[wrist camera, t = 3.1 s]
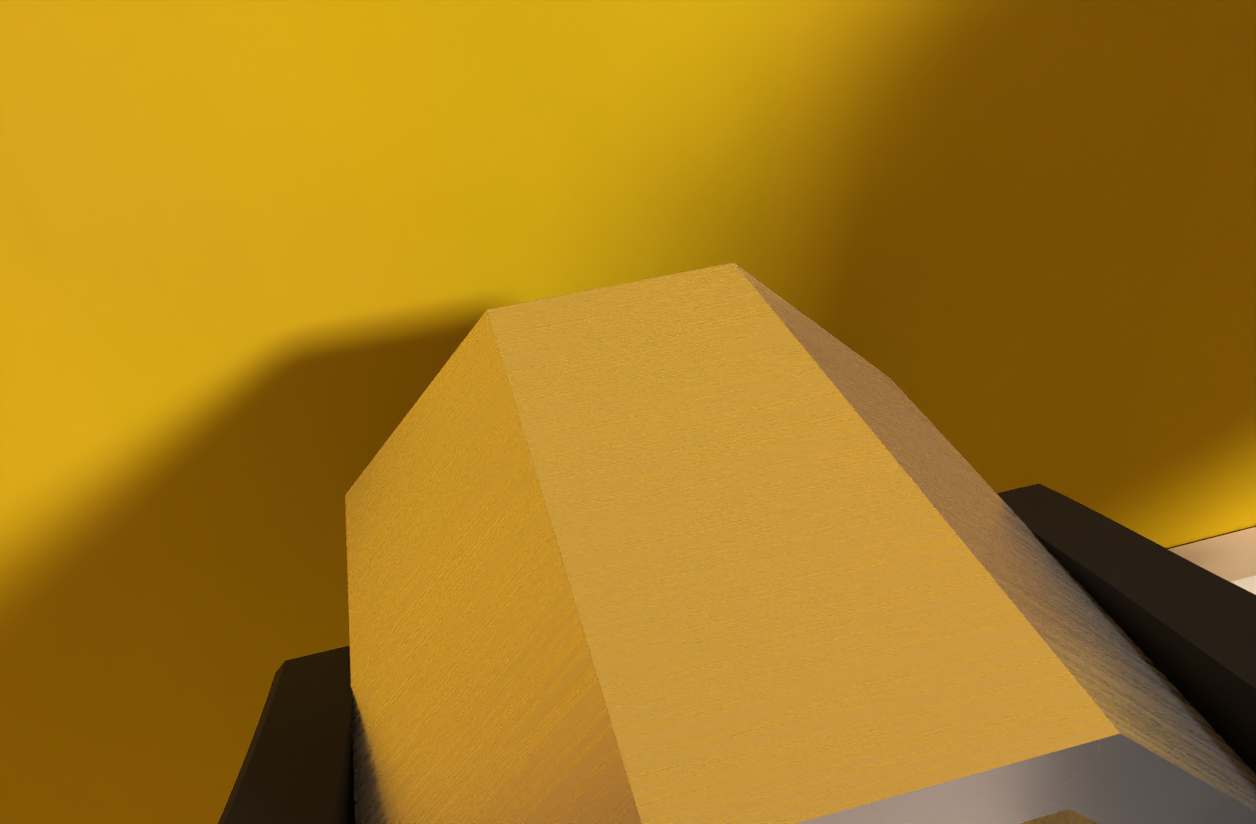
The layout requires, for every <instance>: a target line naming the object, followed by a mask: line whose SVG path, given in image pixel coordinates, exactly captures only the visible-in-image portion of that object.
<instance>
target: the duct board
mask: <svg viewBox="0 0 1256 824" xmlns="http://www.w3.org/2000/svg"><path fill="white" fill-rule="evenodd" d="M1168 550H1170V551H1172V552H1174V553H1175V554H1177V555H1179V556H1181V557H1183V558H1185V559H1187V560H1189V561H1191V562H1193V563H1195V564H1197V565H1198V566H1200V567H1202V568H1204V569H1206V570H1208V571H1210V572H1212V573H1214V574H1216V575H1218V576H1220V577H1222V578H1224V579H1226V580H1227V581H1229V582H1231V583H1233V584H1235V585H1237V586H1239V587H1241V588H1243V589H1245V590H1247V591H1249V592H1251V593H1253V594H1255V595H1256V527H1253V528H1249V529H1245V530H1241V531H1238V532H1234V533H1230V534H1226V535H1222V536H1218V537H1214V538H1210V539H1206V540H1202V541H1198V542H1194V543H1190V544H1186V545H1183V546H1179V547H1175V548H1171V549H1168Z"/></svg>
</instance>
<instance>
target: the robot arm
mask: <svg viewBox="0 0 1256 824" xmlns="http://www.w3.org/2000/svg"><path fill="white" fill-rule="evenodd" d="M997 494H998V495H999V496H1000V498H1001V499H1002V500H1003V501H1004V502H1005V503H1006V504H1007V505H1008V506H1009V507H1010V508H1011V510H1012V511H1013V512H1014V513H1015V514H1016V515H1017V516H1018V517H1019V518H1020V519H1021V520H1022V521H1023V523H1024V524H1025V525H1026V526H1027V527H1028V528H1029V530H1030V531H1031V532H1032V533H1033V534H1034V535H1035V536H1036V537H1037V538H1038V539H1039V540H1040V541H1041V543H1042V544H1043V545H1044V546H1045V547H1046V548H1047V549H1048V550H1049V551H1050V552H1051V553H1052V554H1053V555H1054V556H1055V557H1056V558H1057V559H1058V561H1059V562H1060V563H1061V564H1062V565H1063V566H1064V567H1065V568H1066V569H1067V570H1068V571H1069V572H1070V574H1071V575H1072V576H1073V577H1074V578H1075V579H1076V580H1077V581H1078V582H1079V583H1080V584H1081V585H1082V587H1083V588H1084V589H1085V590H1086V591H1087V592H1088V593H1089V594H1090V595H1091V596H1092V597H1093V599H1094V600H1095V601H1096V602H1097V603H1098V604H1099V605H1100V606H1101V607H1102V608H1103V609H1104V610H1105V612H1106V613H1107V614H1108V615H1109V616H1110V617H1111V618H1112V619H1113V620H1114V621H1115V622H1116V623H1117V625H1118V626H1119V627H1120V628H1121V629H1122V630H1123V631H1124V632H1125V633H1126V634H1127V635H1128V636H1129V638H1130V639H1131V640H1132V641H1133V642H1134V643H1135V644H1136V645H1137V646H1138V647H1139V648H1140V650H1141V651H1142V652H1143V653H1144V654H1145V655H1146V656H1147V657H1148V658H1149V659H1150V660H1151V661H1152V663H1153V664H1154V665H1155V666H1156V667H1157V668H1158V669H1159V670H1160V671H1161V672H1162V673H1163V674H1164V676H1165V677H1166V678H1167V679H1168V680H1169V681H1170V682H1171V683H1172V684H1173V685H1174V686H1175V688H1176V689H1177V690H1178V691H1179V692H1180V693H1181V694H1182V695H1183V696H1184V697H1185V698H1186V699H1187V701H1188V702H1189V703H1190V704H1191V705H1192V706H1193V707H1194V708H1195V709H1196V710H1197V711H1198V712H1199V714H1200V715H1201V716H1202V717H1203V718H1204V719H1205V720H1206V721H1207V722H1208V723H1209V724H1210V725H1211V727H1212V728H1213V729H1214V730H1215V731H1216V732H1217V733H1218V734H1219V735H1220V736H1221V737H1222V739H1223V740H1224V741H1225V742H1226V743H1227V744H1228V745H1229V746H1230V747H1231V748H1232V749H1233V750H1234V752H1235V753H1236V754H1237V755H1238V756H1239V757H1240V758H1241V759H1242V760H1243V761H1244V762H1245V763H1246V765H1247V766H1248V767H1249V768H1250V769H1251V770H1252V771H1253V772H1254V773H1255V774H1256V595H1255V594H1253V593H1251V592H1249V591H1247V590H1245V589H1243V588H1241V587H1239V586H1237V585H1235V584H1233V583H1231V582H1229V581H1227V580H1226V579H1224V578H1222V577H1220V576H1218V575H1216V574H1214V573H1212V572H1210V571H1208V570H1206V569H1204V568H1202V567H1200V566H1198V565H1197V564H1195V563H1193V562H1191V561H1189V560H1187V559H1185V558H1183V557H1181V556H1179V555H1177V554H1175V553H1174V552H1172V551H1170V550H1168V549H1166V548H1164V547H1162V546H1160V545H1158V544H1156V543H1155V542H1153V541H1151V540H1149V539H1147V538H1145V537H1143V536H1141V535H1139V534H1137V533H1136V532H1134V531H1132V530H1130V529H1128V528H1126V527H1124V526H1122V525H1120V524H1118V523H1117V522H1115V521H1113V520H1111V519H1109V518H1107V517H1105V516H1103V515H1101V514H1099V513H1097V512H1095V511H1094V510H1092V509H1090V508H1088V507H1086V506H1084V505H1082V504H1080V503H1078V502H1076V501H1074V500H1072V499H1070V498H1068V497H1066V496H1064V495H1062V494H1060V493H1058V492H1055V491H1053V490H1051V489H1049V488H1047V487H1045V486H1043V485H1041V484H1035V485H1031V486H1027V487H1023V488H1018V489H1014V490H1010V491H1006V492H1001V493H997ZM352 724H353V699H352V688H351V670H350V646H347V647H342V648H338V649H334V650H330V651H325V652H321V653H317V654H313V655H308V656H304V657H300V658H296V659H291V660H287V661H285V662H284V663H283V665H282V666H281V667H280V668H279V670H278V671H277V672H276V674H275V676H274V680H273V683H272V686H271V689H270V692H269V695H268V698H267V701H266V703H265V706H264V709H263V712H262V715H261V717H260V720H259V723H258V726H257V728H256V731H255V734H254V737H253V739H252V742H251V744H250V747H249V750H248V752H247V755H246V757H245V760H244V762H243V765H242V767H241V770H240V772H239V775H238V777H237V780H236V782H235V785H234V787H233V790H232V792H231V794H230V797H229V799H228V802H227V804H226V807H225V809H224V811H223V813H222V816H221V818H220V820H219V822H218V824H355V799H354V767H353V734H352Z"/></svg>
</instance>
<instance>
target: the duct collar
mask: <svg viewBox="0 0 1256 824" xmlns="http://www.w3.org/2000/svg"><path fill="white" fill-rule="evenodd" d="M345 509H346V541H347V574H348V606H349V638H350V670H351V688H352V699H353V724H352V734H353V767H354V799H355V824H1256V774H1255V773H1254V772H1253V771H1252V770H1251V769H1250V768H1249V767H1248V766H1247V765H1246V763H1245V762H1244V761H1243V760H1242V759H1241V758H1240V757H1239V756H1238V755H1237V754H1236V753H1235V752H1234V750H1233V749H1232V748H1231V747H1230V746H1229V745H1228V744H1227V743H1226V742H1225V741H1224V740H1223V739H1222V737H1221V736H1220V735H1219V734H1218V733H1217V732H1216V731H1215V730H1214V729H1213V728H1212V727H1211V725H1210V724H1209V723H1208V722H1207V721H1206V720H1205V719H1204V718H1203V717H1202V716H1201V715H1200V714H1199V712H1198V711H1197V710H1196V709H1195V708H1194V707H1193V706H1192V705H1191V704H1190V703H1189V702H1188V701H1187V699H1186V698H1185V697H1184V696H1183V695H1182V694H1181V693H1180V692H1179V691H1178V690H1177V689H1176V688H1175V686H1174V685H1173V684H1172V683H1171V682H1170V681H1169V680H1168V679H1167V678H1166V677H1165V676H1164V674H1163V673H1162V672H1161V671H1160V670H1159V669H1158V668H1157V667H1156V666H1155V665H1154V664H1153V663H1152V661H1151V660H1150V659H1149V658H1148V657H1147V656H1146V655H1145V654H1144V653H1143V652H1142V651H1141V650H1140V648H1139V647H1138V646H1137V645H1136V644H1135V643H1134V642H1133V641H1132V640H1131V639H1130V638H1129V636H1128V635H1127V634H1126V633H1125V632H1124V631H1123V630H1122V629H1121V628H1120V627H1119V626H1118V625H1117V623H1116V622H1115V621H1114V620H1113V619H1112V618H1111V617H1110V616H1109V615H1108V614H1107V613H1106V612H1105V610H1104V609H1103V608H1102V607H1101V606H1100V605H1099V604H1098V603H1097V602H1096V601H1095V600H1094V599H1093V597H1092V596H1091V595H1090V594H1089V593H1088V592H1087V591H1086V590H1085V589H1084V588H1083V587H1082V585H1081V584H1080V583H1079V582H1078V581H1077V580H1076V579H1075V578H1074V577H1073V576H1072V575H1071V574H1070V572H1069V571H1068V570H1067V569H1066V568H1065V567H1064V566H1063V565H1062V564H1061V563H1060V562H1059V561H1058V559H1057V558H1056V557H1055V556H1054V555H1053V554H1052V553H1051V552H1050V551H1049V550H1048V549H1047V548H1046V547H1045V546H1044V545H1043V544H1042V543H1041V541H1040V540H1039V539H1038V538H1037V537H1036V536H1035V535H1034V534H1033V533H1032V532H1031V531H1030V530H1029V528H1028V527H1027V526H1026V525H1025V524H1024V523H1023V521H1022V520H1021V519H1020V518H1019V517H1018V516H1017V515H1016V514H1015V513H1014V512H1013V511H1012V510H1011V508H1010V507H1009V506H1008V505H1007V504H1006V503H1005V502H1004V501H1003V500H1002V499H1001V498H1000V496H999V495H998V494H997V493H996V492H995V491H994V490H993V489H992V488H991V487H990V486H989V485H988V483H987V482H986V481H985V480H984V479H983V478H982V477H981V476H980V475H979V474H978V473H977V472H976V470H975V469H974V468H973V467H972V466H971V465H970V464H969V463H968V462H967V461H966V460H965V458H964V457H963V456H962V455H961V454H960V453H959V452H958V451H957V450H956V449H955V448H954V447H953V445H952V444H951V443H950V442H949V441H948V440H947V439H946V438H945V437H944V436H943V435H942V434H941V432H940V431H939V430H938V429H937V428H936V427H935V426H934V425H933V424H932V423H931V422H930V421H929V419H928V418H927V417H926V416H925V415H924V414H923V413H922V412H921V411H920V410H919V409H918V407H917V406H916V405H915V404H914V403H913V402H912V401H911V400H910V399H909V398H908V397H907V396H906V394H905V393H904V392H903V391H902V390H901V389H900V388H899V387H898V386H897V385H896V384H895V383H894V381H893V380H892V379H891V378H889V377H888V376H887V375H885V374H884V373H883V372H881V371H880V370H879V369H877V368H876V367H875V366H873V365H872V364H870V363H869V362H868V361H866V360H865V359H864V358H862V357H861V356H860V355H858V354H857V353H856V352H854V351H853V350H852V349H850V348H849V347H847V346H846V345H845V344H843V343H842V342H841V341H839V340H838V339H837V338H835V337H834V336H833V335H831V334H830V333H829V332H827V331H826V330H824V329H823V328H822V327H820V326H819V325H818V324H816V323H815V322H814V321H812V320H811V319H810V318H808V317H807V316H806V315H804V314H803V313H801V312H800V311H799V310H797V309H796V308H795V307H793V306H792V305H791V304H789V303H788V302H787V301H785V300H784V299H783V298H781V297H780V296H778V295H777V294H776V293H774V292H773V291H772V290H770V289H769V288H768V287H766V286H765V285H764V284H762V283H761V282H760V281H758V280H757V279H755V278H754V277H753V276H751V275H750V274H749V273H747V272H746V271H745V270H743V269H742V268H741V267H739V266H738V265H737V264H735V263H734V262H733V263H728V264H723V265H718V266H712V267H707V268H702V269H697V270H692V271H686V272H681V273H676V274H671V275H665V276H660V277H655V278H650V279H644V280H639V281H634V282H629V283H624V284H618V285H613V286H608V287H603V288H597V289H592V290H587V291H582V292H576V293H571V294H566V295H561V296H556V297H550V298H545V299H540V300H535V301H529V302H524V303H519V304H514V305H508V306H503V307H498V308H493V309H487V310H486V311H485V313H484V314H483V315H482V317H481V318H480V319H479V321H478V322H477V323H476V324H475V326H474V327H473V328H472V330H471V331H470V332H469V334H468V335H467V336H466V338H465V339H464V340H463V342H462V343H461V344H460V345H459V347H458V348H457V349H456V351H455V352H454V353H453V355H452V356H451V357H450V359H449V360H448V361H447V362H446V364H445V365H444V366H443V368H442V369H441V370H440V372H439V373H438V374H437V376H436V377H435V378H434V379H433V381H432V382H431V383H430V385H429V386H428V387H427V389H426V390H425V391H424V393H423V394H422V395H421V396H420V398H419V399H418V400H417V402H416V403H415V404H414V406H413V407H412V408H411V410H410V411H409V412H408V413H407V415H406V416H405V417H404V419H403V420H402V421H401V423H400V424H399V425H398V427H397V428H396V429H395V430H394V432H393V433H392V434H391V436H390V437H389V438H388V440H387V441H386V442H385V444H384V445H383V446H382V447H381V449H380V450H379V451H378V453H377V454H376V455H375V457H374V458H373V459H372V461H371V462H370V463H369V464H368V466H367V467H366V468H365V470H364V471H363V472H362V474H361V475H360V476H359V478H358V479H357V480H356V481H355V483H354V484H353V485H352V487H351V488H350V489H349V491H348V492H347V493H346V495H345Z"/></svg>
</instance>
